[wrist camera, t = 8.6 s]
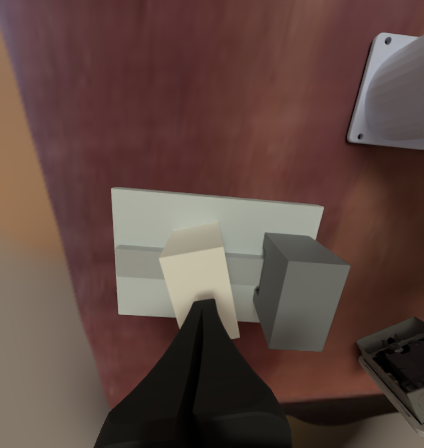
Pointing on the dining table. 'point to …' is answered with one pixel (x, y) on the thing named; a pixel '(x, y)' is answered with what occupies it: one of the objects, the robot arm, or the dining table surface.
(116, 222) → the rail plate
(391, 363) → the electrical switch
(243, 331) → the dining table surface
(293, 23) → the dining table surface
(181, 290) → the block
